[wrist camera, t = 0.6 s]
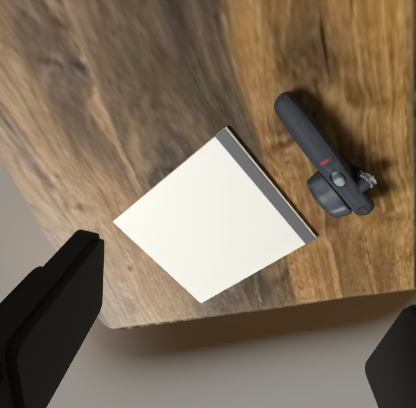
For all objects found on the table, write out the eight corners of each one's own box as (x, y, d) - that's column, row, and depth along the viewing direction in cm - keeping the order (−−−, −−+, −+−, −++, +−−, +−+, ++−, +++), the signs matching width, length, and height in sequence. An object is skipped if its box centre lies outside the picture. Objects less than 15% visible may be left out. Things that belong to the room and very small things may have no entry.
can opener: (377, 188, 38) (397, 209, 33) (327, 215, 41) (339, 238, 36) (305, 71, 33) (316, 74, 28) (253, 110, 36) (255, 120, 31)
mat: (226, 126, 36) (226, 127, 36) (315, 235, 42) (316, 238, 41) (114, 219, 45) (112, 222, 44) (201, 300, 50) (200, 304, 50)
